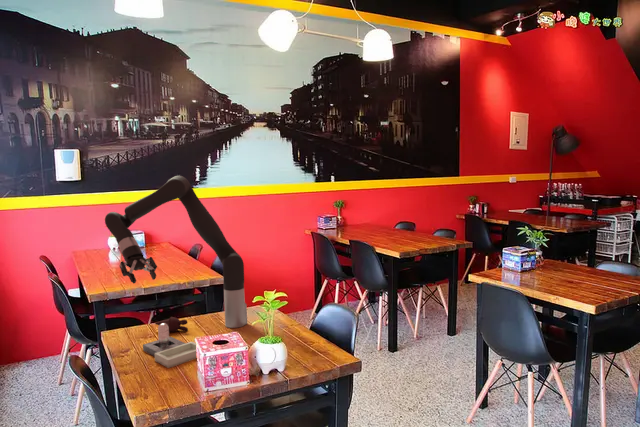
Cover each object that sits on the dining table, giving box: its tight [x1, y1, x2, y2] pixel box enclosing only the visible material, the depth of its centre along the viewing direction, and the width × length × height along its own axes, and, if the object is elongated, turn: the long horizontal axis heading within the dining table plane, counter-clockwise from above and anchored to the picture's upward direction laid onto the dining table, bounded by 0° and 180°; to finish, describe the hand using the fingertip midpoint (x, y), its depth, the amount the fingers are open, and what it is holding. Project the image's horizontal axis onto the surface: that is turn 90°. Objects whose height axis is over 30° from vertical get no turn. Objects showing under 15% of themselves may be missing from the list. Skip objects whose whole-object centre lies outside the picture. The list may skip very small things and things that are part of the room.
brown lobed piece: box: [154, 316, 188, 333], centre depth 212 cm, size 7×7×15 cm
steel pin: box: [157, 323, 170, 348], centre depth 190 cm, size 4×4×11 cm
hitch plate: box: [142, 336, 187, 358], centre depth 190 cm, size 12×12×2 cm
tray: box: [154, 341, 197, 369], centre depth 182 cm, size 16×10×3 cm, turn 136°
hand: (144, 280), depth 197 cm, fingers open, 8 cm apart
